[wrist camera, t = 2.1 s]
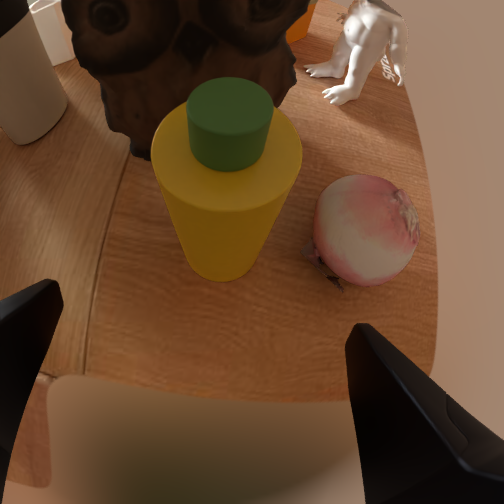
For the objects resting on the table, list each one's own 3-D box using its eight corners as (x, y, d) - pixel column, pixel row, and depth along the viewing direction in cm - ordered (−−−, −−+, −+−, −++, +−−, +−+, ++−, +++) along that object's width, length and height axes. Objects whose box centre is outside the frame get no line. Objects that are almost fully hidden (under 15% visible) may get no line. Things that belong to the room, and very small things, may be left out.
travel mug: (54, 141, 22) (-23, 2, 5) (3, 151, 21) (-75, 45, 4) (78, 87, 24) (34, -39, 7) (28, 99, 23) (-25, -5, 6)
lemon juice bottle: (269, 267, 21) (351, 154, 8) (197, 292, 20) (158, 205, 7) (243, 202, 22) (276, 47, 9) (175, 223, 21) (130, 74, 8)
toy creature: (291, 55, 29) (314, -26, 17) (332, 55, 30) (361, -17, 18) (340, 125, 26) (391, 33, 14) (383, 121, 27) (437, 45, 16)
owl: (288, 120, 25) (355, -78, 6) (200, 217, 21) (184, -95, 2) (187, 69, 26) (186, -98, 7) (96, 144, 22) (20, -48, 3)
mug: (89, 27, 28) (78, -20, 19) (98, 46, 27) (84, -10, 17) (22, 64, 25) (2, 21, 16) (21, 89, 24) (-5, 40, 14)
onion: (390, 291, 22) (448, 272, 15) (301, 298, 21) (341, 278, 14) (375, 201, 24) (420, 158, 17) (292, 196, 23) (320, 143, 16)
